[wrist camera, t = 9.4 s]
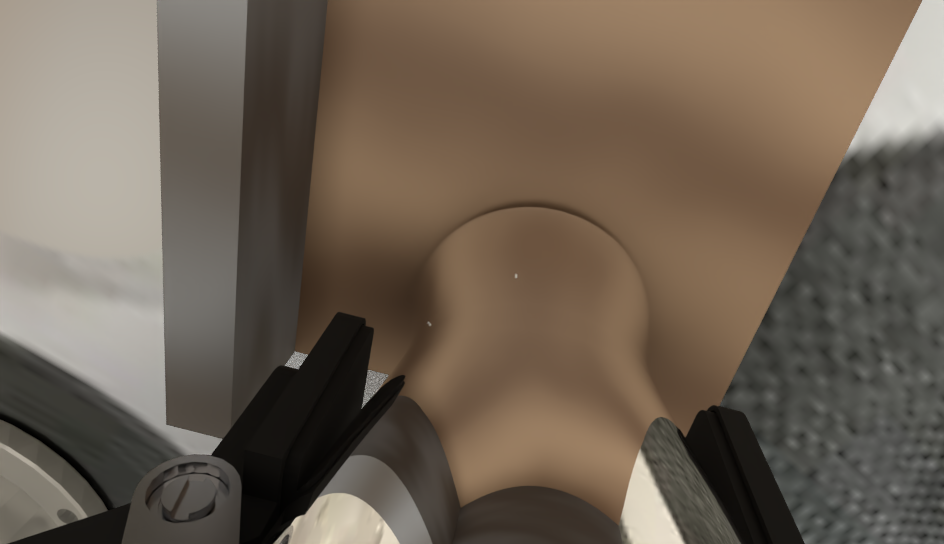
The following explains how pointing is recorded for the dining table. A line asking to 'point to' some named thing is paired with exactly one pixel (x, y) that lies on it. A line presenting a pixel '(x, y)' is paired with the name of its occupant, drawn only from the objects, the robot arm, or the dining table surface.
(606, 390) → the beer glass
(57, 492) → the robot arm
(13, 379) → the dining table surface
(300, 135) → the wooden corner tray
